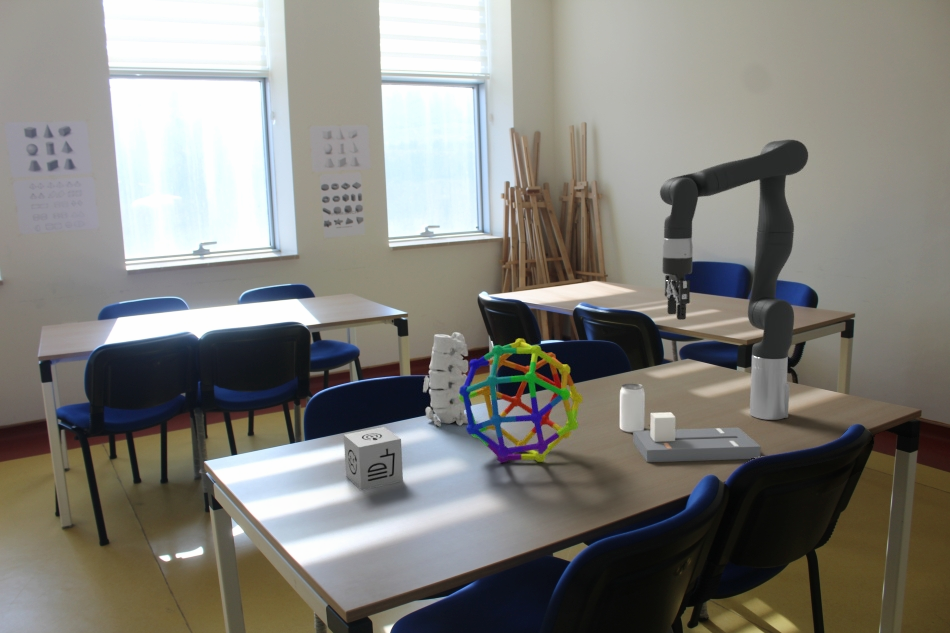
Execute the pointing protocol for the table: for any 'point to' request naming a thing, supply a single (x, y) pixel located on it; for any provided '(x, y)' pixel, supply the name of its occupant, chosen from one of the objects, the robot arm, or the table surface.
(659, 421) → the fader cap
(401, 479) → the icon cube
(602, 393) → the table surface
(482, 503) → the table surface
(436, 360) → the anatomical model
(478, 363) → the geometric model
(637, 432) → the slide board
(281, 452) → the table surface
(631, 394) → the can
